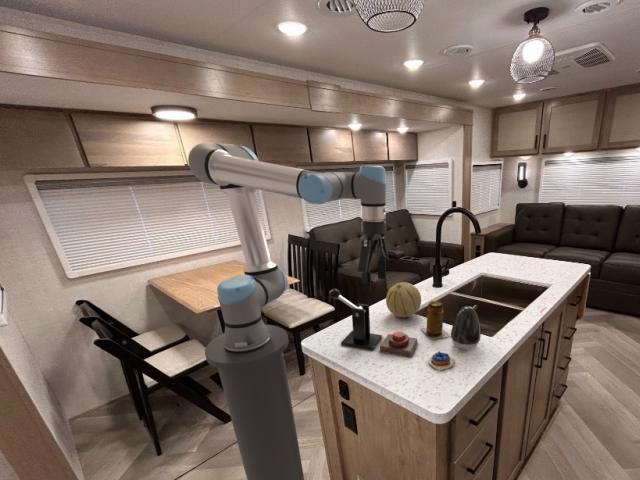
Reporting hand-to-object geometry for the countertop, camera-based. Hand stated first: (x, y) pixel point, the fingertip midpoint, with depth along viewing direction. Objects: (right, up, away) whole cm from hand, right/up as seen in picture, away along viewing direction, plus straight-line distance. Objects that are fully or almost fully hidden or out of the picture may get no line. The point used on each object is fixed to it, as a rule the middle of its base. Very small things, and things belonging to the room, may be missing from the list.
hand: (374, 285), depth 106 cm
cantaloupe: (+10, -12, +30) cm, 34 cm away
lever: (-11, -7, +6) cm, 14 cm away
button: (+8, -18, +5) cm, 21 cm away
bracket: (-5, -20, +10) cm, 23 cm away
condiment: (+22, -18, +16) cm, 32 cm away
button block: (+8, -22, +6) cm, 24 cm away
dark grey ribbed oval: (+31, -21, +7) cm, 39 cm away
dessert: (+22, -26, -3) cm, 34 cm away
